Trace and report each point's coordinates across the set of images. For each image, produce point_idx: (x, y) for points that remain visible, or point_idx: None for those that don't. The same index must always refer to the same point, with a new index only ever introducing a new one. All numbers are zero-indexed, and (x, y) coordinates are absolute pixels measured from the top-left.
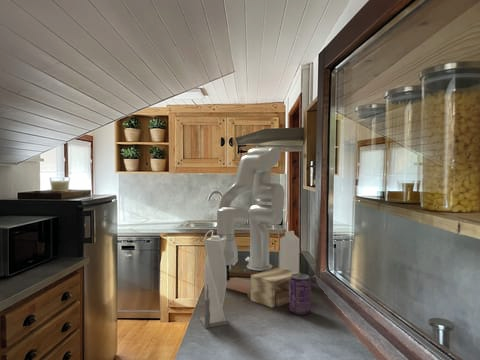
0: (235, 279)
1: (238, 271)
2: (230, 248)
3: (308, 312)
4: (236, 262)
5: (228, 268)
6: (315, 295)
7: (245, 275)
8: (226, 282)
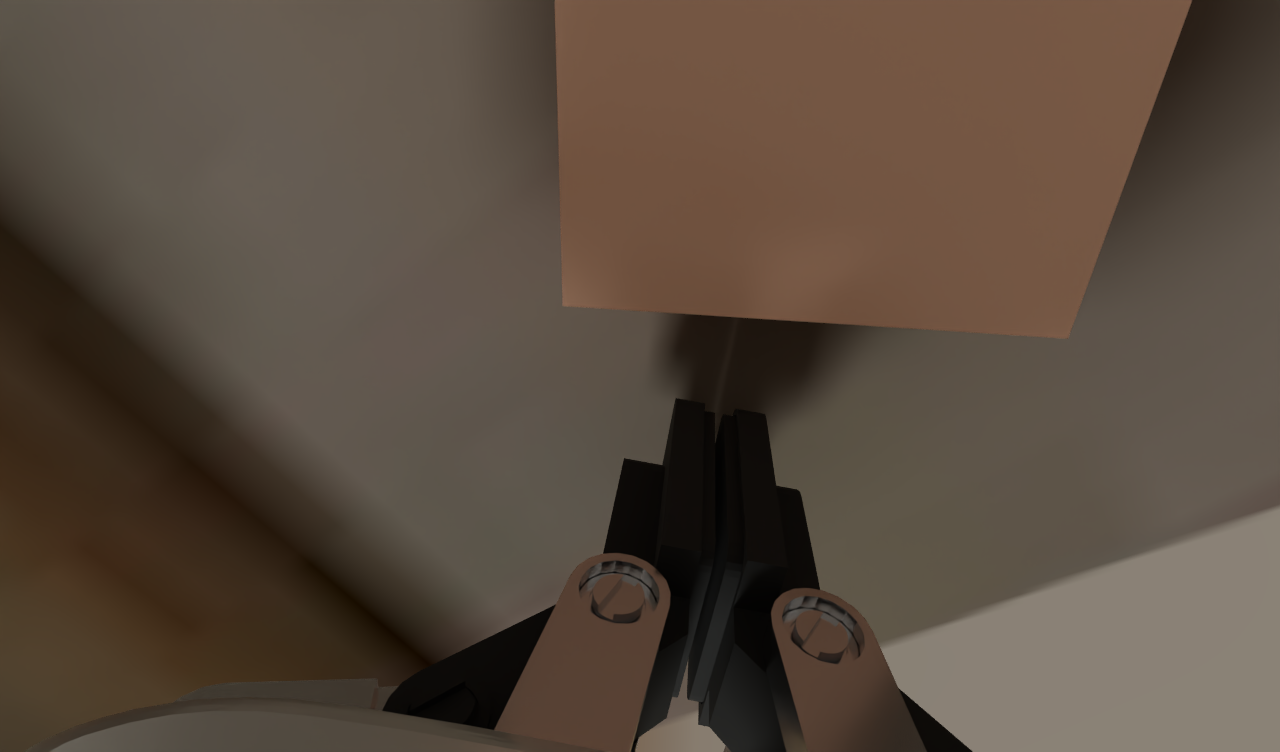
0: (740, 185)
1: (46, 604)
2: None
3: None
4: (177, 702)
5: (655, 657)
6: None
7: (61, 401)
8: (1074, 271)
